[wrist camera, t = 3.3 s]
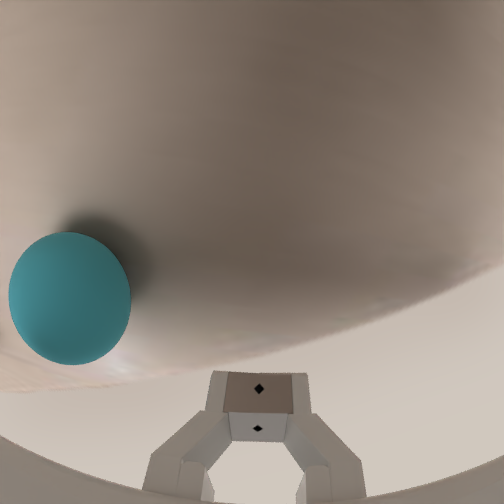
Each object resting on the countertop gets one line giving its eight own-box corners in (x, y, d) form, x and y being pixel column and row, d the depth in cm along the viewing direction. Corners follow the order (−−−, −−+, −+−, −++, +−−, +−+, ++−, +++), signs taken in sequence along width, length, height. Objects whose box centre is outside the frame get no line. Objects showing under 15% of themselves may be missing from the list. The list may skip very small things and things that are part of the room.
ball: (61, 191, 13) (-22, 250, 8) (164, 245, 14) (112, 335, 9) (47, 279, 15) (-8, 345, 10) (132, 326, 17) (93, 409, 11)
